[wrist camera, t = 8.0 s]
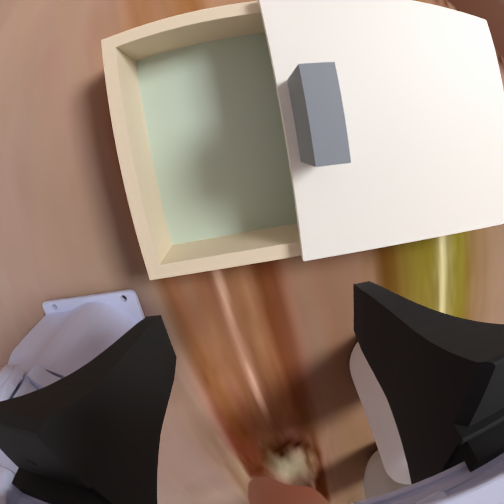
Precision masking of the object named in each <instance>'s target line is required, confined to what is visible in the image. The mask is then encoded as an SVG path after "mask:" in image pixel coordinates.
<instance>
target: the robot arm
mask: <svg viewBox="0 0 504 504" xmlns="http://www.w3.org/2000/svg"><path fill="white" fill-rule="evenodd" d="M353 285H354V332H355V334H356V337H357V340H358V343H359V345H360V348H361V351H362V353H363V354H364V356H365V358H366V360H367V362H368V364H369V366H370V368H371V369H372V371H373V373H374V375H375V377H376V379H377V381H378V383H379V384H380V386H381V388H382V390H383V392H384V394H385V396H386V398H387V401H388V403H389V406H390V409H391V411H392V414H393V417H394V420H395V423H396V426H397V429H398V432H399V436H400V439H401V442H402V446H403V449H404V453H405V457H406V461H407V465H408V470H409V474H410V479H411V484H412V485H409V486H407V487H404V488H401V489H398V490H395V491H392V492H389V493H386V494H383V495H380V496H377V497H373V498H370V499H366V500H363V501H359V502H355V503H351V504H504V325H503V324H492V323H484V322H477V321H472V320H467V319H462V318H458V317H454V316H451V315H448V314H444V313H441V312H438V311H435V310H432V309H429V308H427V307H424V306H422V305H420V304H417V303H415V302H412V301H410V300H408V299H406V298H404V297H402V296H399V295H397V294H395V293H393V292H391V291H389V290H387V289H385V288H383V287H381V286H379V285H377V284H374V283H372V282H369V281H368V282H363V283H358V284H353ZM122 295H124V296H126V298H127V299H124V298H123V297H122ZM54 304H55V305H56V306H57V307H56V306H55V305H54ZM42 306H43V309H44V311H45V314H46V315H45V316H44V317H43V318H42V319H41V320H40V321H39V322H38V323H37V324H36V325H35V326H34V327H33V329H32V330H31V331H30V332H29V333H28V334H27V335H26V336H25V337H24V339H23V340H22V341H21V342H20V343H19V344H18V345H17V346H16V348H15V349H14V350H13V352H12V353H11V355H10V358H9V361H8V365H5V366H4V367H3V368H2V369H1V370H0V504H157V467H158V452H159V443H160V434H161V429H162V424H163V420H164V416H165V412H166V408H167V404H168V401H169V397H170V393H171V389H172V385H173V381H174V375H175V366H176V355H175V352H174V350H173V347H172V345H171V342H170V339H169V337H168V334H167V331H166V328H165V326H164V323H163V320H162V317H161V315H158V316H150V317H145V316H144V313H143V311H142V308H141V305H140V302H139V300H138V297H137V294H136V292H135V291H133V290H130V289H128V290H121V291H114V292H107V293H100V294H93V295H86V296H79V297H71V298H64V299H56V300H49V301H45V302H44V303H43V305H42Z"/></svg>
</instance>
